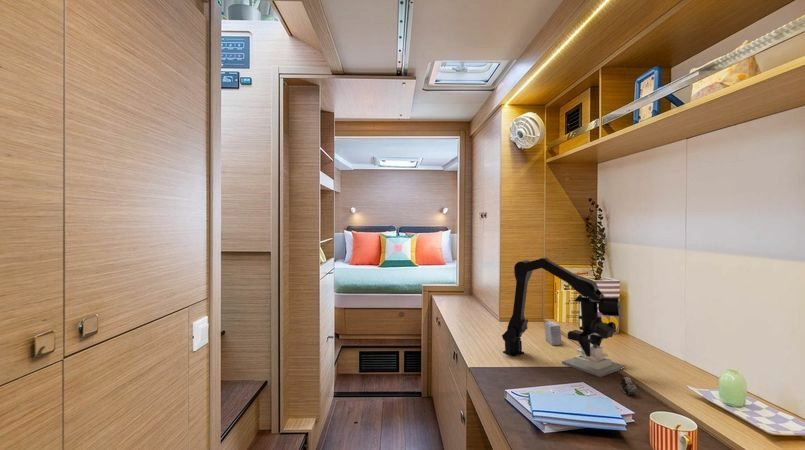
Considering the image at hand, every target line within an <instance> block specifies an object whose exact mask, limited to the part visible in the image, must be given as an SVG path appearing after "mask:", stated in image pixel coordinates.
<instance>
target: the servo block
mask: <svg viewBox="0 0 805 450" xmlns="http://www.w3.org/2000/svg"><path fill="white" fill-rule="evenodd" d="M603 350H604V349H603V346H601V345H600V346H597V344H591V343H590V357H588V356H586V354H585V352H584V350H583V349H582V347H581V346H580V348H577V349H576V352H577V353H580V354H582V358H584V359H587V360H590V361H593V362H600V361H603V358H608V357H609V354H607V353H604V351H603Z"/></svg>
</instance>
